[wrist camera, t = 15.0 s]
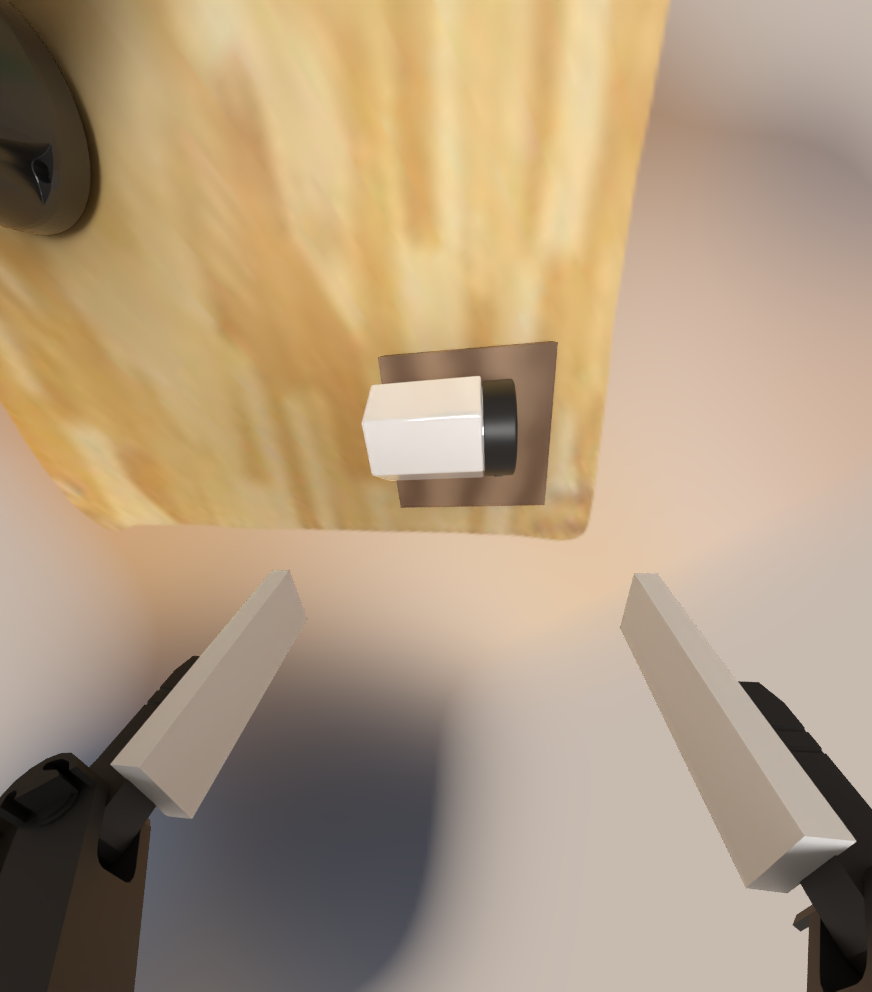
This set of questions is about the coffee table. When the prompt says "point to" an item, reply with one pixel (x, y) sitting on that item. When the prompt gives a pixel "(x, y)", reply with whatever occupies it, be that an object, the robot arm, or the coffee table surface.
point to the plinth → (534, 413)
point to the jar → (441, 429)
